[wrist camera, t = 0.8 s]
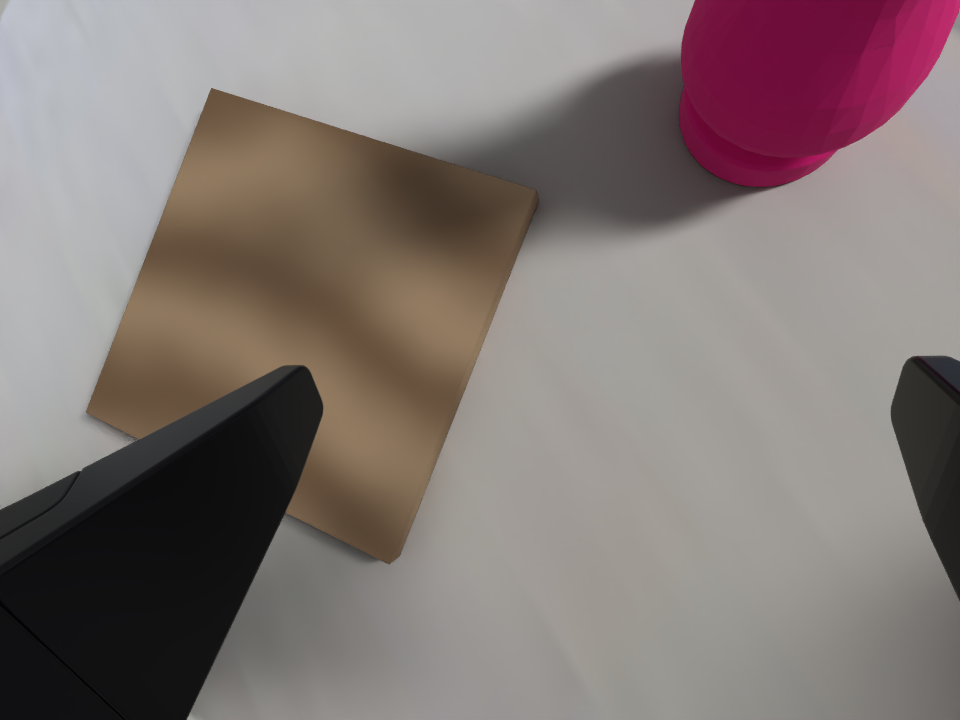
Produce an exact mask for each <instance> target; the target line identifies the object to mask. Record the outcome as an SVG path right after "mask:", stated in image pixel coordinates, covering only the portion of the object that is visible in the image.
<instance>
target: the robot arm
mask: <svg viewBox="0 0 960 720" xmlns="http://www.w3.org/2000/svg"><path fill="white" fill-rule="evenodd" d="M322 416H323V401H322V399H321V396H320V394H319V391H318V389H317V386H316V384H315V381H314V379H313V376H312V374H311V372H310V370H309V369H308V368H307V367H306V366H304V365H285V366H281V367H279V368H277V369H275V370H273V371H271V372H269V373H267V374H265V375H264V376H262V377H260V378H258V379H256V380H254V381H252V382H250V383H248V384H246V385H244V386H242V387H240V388H238V389H236V390H234V391H232V392H230V393H229V394H227V395H225V396H223V397H221V398H219V399H217V400H215V401H213V402H211V403H209V404H207V405H205V406H203V407H201V408H199V409H197V410H196V411H194V412H192V413H190V414H188V415H186V416H184V417H182V418H180V419H178V420H176V421H174V422H172V423H170V424H168V425H166V426H164V427H162V428H161V429H159V430H157V431H155V432H153V433H151V434H149V435H147V436H145V437H143V438H141V439H139V440H137V441H135V442H133V443H131V444H129V445H127V446H126V447H124V448H122V449H120V450H118V451H116V452H114V453H112V454H110V455H108V456H106V457H104V458H102V459H100V460H98V461H96V462H94V463H93V464H91V465H89V466H87V467H85V468H83V469H82V471H77V472H75V473H73V474H71V475H69V476H67V477H65V478H63V479H61V480H59V481H57V482H55V483H53V484H51V485H49V486H47V487H45V488H43V489H41V490H39V491H37V492H35V493H33V494H31V495H29V496H27V497H25V498H23V499H22V500H20V501H18V502H16V503H13V504H11V505H9V506H7V507H5V508H3V509H1V510H0V720H187V718H188V716H189V714H190V712H191V709H192V707H193V705H194V703H195V701H196V699H197V697H198V695H199V693H200V691H201V688H202V686H203V684H204V682H205V680H206V678H207V676H208V674H209V672H210V670H211V667H212V665H213V663H214V661H215V659H216V657H217V655H218V653H219V651H220V649H221V646H222V644H223V642H224V640H225V638H226V636H227V634H228V632H229V630H230V628H231V625H232V623H233V621H234V619H235V617H236V615H237V613H238V611H239V609H240V607H241V605H242V602H243V600H244V598H245V596H246V594H247V592H248V590H249V588H250V586H251V584H252V581H253V579H254V577H255V575H256V573H257V571H258V569H259V567H260V565H261V563H262V560H263V558H264V556H265V554H266V552H267V550H268V548H269V546H270V544H271V542H272V539H273V537H274V535H275V533H276V531H277V529H278V527H279V525H280V523H281V521H282V518H283V516H284V514H285V512H286V510H287V508H288V506H289V504H290V502H291V500H292V497H293V495H294V493H295V491H296V488H297V486H298V483H299V481H300V478H301V475H302V473H303V470H304V467H305V464H306V461H307V458H308V456H309V453H310V450H311V447H312V444H313V442H314V439H315V436H316V433H317V430H318V427H319V425H320V422H321V419H322ZM891 421H892V425H893V428H894V431H895V434H896V438H897V441H898V444H899V447H900V450H901V454H902V457H903V460H904V463H905V466H906V470H907V473H908V476H909V479H910V482H911V486H912V489H913V492H914V495H915V498H916V502H917V505H918V508H919V510H920V513H921V516H922V519H923V522H924V524H925V527H926V529H927V531H928V534H929V536H930V538H931V540H932V543H933V545H934V547H935V549H936V551H937V553H938V555H939V558H940V560H941V562H942V564H943V566H944V568H945V571H946V573H947V575H948V577H949V579H950V581H951V583H952V586H953V588H954V590H955V592H956V594H957V596H958V599H959V601H960V361H958V360H955V359H953V358H951V357H948V356H913V357H911V358H909V359H908V360H907V361H906V362H905V364H904V366H903V368H902V372H901V375H900V378H899V382H898V385H897V388H896V392H895V395H894V398H893V402H892V405H891Z"/></svg>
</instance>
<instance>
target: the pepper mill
mask: <svg viewBox="0 0 960 720" xmlns="http://www.w3.org/2000/svg"><path fill="white" fill-rule="evenodd" d="M959 9H960V0H695V2H694V5H693V7H692V10H691V13H690V15H689V18H688V21H687V23H686V26H685V30H684V35H683V40H682V49H681V64H682V78H683V81H684V84H685V85H684V89H683V93H682V96H681V101H680V108H679V122H680V128H681V132H682V135H683V138H684V141H685V144H686V146H687V147H688V149H689V151H690V152H691V154H692V155H693V157H694V158H695V159H696V160H697V161H698V162H699V163H700V164H701V165H702V166H703V167H704V168H705V169H707V170H708V171H709V172H711V173H712V174H714V175H716V176H717V177H719V178H722V179H724V180H726V181H728V182H732V183H735V184H739V185H744V186H755V187H767V186H776V185H781V184H785V183H788V182H791V181H795V180H797V179H800V178H802V177H804V176H806V175H808V174H810V173H811V172H813V171H815V170H816V169H818V168H819V167H820V166H821V165H823V164H824V163H825V162H826V161H827V160H828V159H829V158H830V157H831V156H832V155H833V154H834V153H835V152H836V151H837V150H838V149H840V148H843V147H846V146H848V145H850V144H852V143H854V142H856V141H858V140H860V139H862V138H864V137H865V136H867V135H868V134H870V133H871V132H873V131H874V130H876V129H877V128H879V127H880V126H882V125H883V124H885V123H886V122H887V121H888V120H889V119H890V118H891V117H892V116H894V115H895V114H896V113H897V112H898V111H899V110H900V109H901V108H902V107H903V105H904V104H905V103H906V102H907V100H908V99H909V98H910V97H911V96H912V94H913V93H914V92H915V91H916V90H917V88H918V87H919V86H920V85H921V84H922V82H923V81H924V80H925V79H926V78H927V76H928V75H929V73H930V71H931V70H932V68H933V66H934V65H935V63H936V61H937V60H938V58H939V57H940V54H941V52H942V50H943V47H944V45H945V43H946V41H947V38H948V36H949V34H950V31H951V29H952V27H953V24H954V22H955V20H956V18H957V15H958V13H959Z"/></svg>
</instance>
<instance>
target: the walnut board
mask: <svg viewBox="0 0 960 720" xmlns="http://www.w3.org/2000/svg"><path fill="white" fill-rule="evenodd" d="M538 202H539V199H538V195H537V192H536V190H534V189H531V188H528V187H525V186H522V185H518V184H515V183H512V182H509V181H506V180H503V179H499V178H496V177H493V176H490V175H487V174H483V173H480V172H477V171H474V170H471V169H468V168H464V167H461V166H458V165H455V164H452V163H448V162H445V161H442V160H439V159H436V158H432V157H429V156H426V155H423V154H420V153H417V152H413V151H410V150H407V149H404V148H401V147H397V146H394V145H391V144H388V143H385V142H382V141H378V140H375V139H372V138H369V137H366V136H362V135H359V134H356V133H353V132H350V131H347V130H343V129H340V128H337V127H334V126H331V125H327V124H324V123H321V122H318V121H315V120H312V119H308V118H305V117H302V116H299V115H296V114H292V113H289V112H286V111H283V110H280V109H276V108H273V107H270V106H267V105H264V104H261V103H257V102H254V101H251V100H248V99H245V98H241V97H238V96H235V95H232V94H229V93H226V92H222V91H219V90H216V89H213V88H211V90H210V93H209V95H208V98H207V101H206V103H205V106H204V108H203V111H202V114H201V116H200V119H199V121H198V124H197V126H196V129H195V132H194V134H193V137H192V139H191V142H190V144H189V147H188V150H187V152H186V155H185V157H184V160H183V163H182V165H181V168H180V170H179V173H178V175H177V178H176V181H175V183H174V186H173V188H172V191H171V194H170V196H169V199H168V201H167V204H166V206H165V209H164V212H163V214H162V217H161V219H160V222H159V225H158V227H157V230H156V232H155V235H154V237H153V240H152V243H151V245H150V248H149V250H148V253H147V256H146V258H145V261H144V263H143V266H142V268H141V271H140V274H139V276H138V279H137V281H136V284H135V287H134V289H133V292H132V294H131V297H130V299H129V302H128V305H127V307H126V310H125V312H124V315H123V318H122V320H121V323H120V325H119V328H118V330H117V333H116V336H115V338H114V341H113V343H112V346H111V348H110V351H109V354H108V356H107V359H106V361H105V364H104V367H103V369H102V372H101V374H100V377H99V379H98V382H97V385H96V387H95V390H94V392H93V395H92V398H91V400H90V403H89V405H88V408H87V410H86V413H87V414H89V415H91V416H93V417H95V418H97V419H99V420H101V421H103V422H105V423H107V424H109V425H111V426H113V427H115V428H117V429H119V430H121V431H123V432H125V433H127V434H129V435H131V436H133V437H135V438H137V439H141V438H143V437H145V436H147V435H149V434H151V433H153V432H155V431H157V430H159V429H161V428H162V427H164V426H166V425H168V424H170V423H172V422H174V421H176V420H178V419H180V418H182V417H184V416H186V415H188V414H190V413H192V412H194V411H196V410H197V409H199V408H201V407H203V406H205V405H207V404H209V403H211V402H213V401H215V400H217V399H219V398H221V397H223V396H225V395H227V394H229V393H230V392H232V391H234V390H236V389H238V388H240V387H242V386H244V385H246V384H248V383H250V382H252V381H254V380H256V379H258V378H260V377H262V376H264V375H265V374H267V373H269V372H271V371H273V370H275V369H277V368H279V367H281V366H285V365H304V366H306V367H307V368H308V369H309V370H310V372H311V374H312V376H313V379H314V381H315V384H316V386H317V389H318V391H319V394H320V396H321V399H322V401H323V416H322V419H321V422H320V425H319V427H318V430H317V433H316V436H315V439H314V442H313V444H312V447H311V450H310V453H309V456H308V458H307V461H306V464H305V467H304V470H303V473H302V475H301V478H300V481H299V483H298V486H297V488H296V491H295V493H294V495H293V497H292V500H291V502H290V504H289V506H288V508H287V510H286V512H285V513H287V514H289V515H291V516H293V517H295V518H297V519H299V520H301V521H303V522H305V523H307V524H309V525H311V526H313V527H315V528H317V529H319V530H321V531H323V532H325V533H327V534H329V535H331V536H333V537H335V538H337V539H339V540H341V541H343V542H345V543H347V544H349V545H351V546H353V547H355V548H357V549H359V550H361V551H363V552H365V553H367V554H369V555H371V556H373V557H375V558H377V559H379V560H381V561H383V562H385V563H387V564H390V563H392V562H393V561H394V560H395V559H397V558H398V557H399V556H400V554H401V551H402V549H403V546H404V544H405V541H406V539H407V536H408V533H409V531H410V528H411V526H412V523H413V521H414V518H415V516H416V513H417V510H418V508H419V505H420V503H421V500H422V498H423V495H424V493H425V490H426V488H427V485H428V482H429V480H430V477H431V475H432V472H433V470H434V467H435V465H436V462H437V459H438V457H439V454H440V452H441V449H442V447H443V444H444V442H445V439H446V437H447V434H448V431H449V429H450V426H451V424H452V421H453V419H454V416H455V414H456V411H457V408H458V406H459V403H460V401H461V398H462V396H463V393H464V391H465V388H466V386H467V383H468V380H469V378H470V375H471V373H472V370H473V368H474V365H475V363H476V360H477V357H478V355H479V352H480V350H481V347H482V345H483V342H484V340H485V337H486V335H487V332H488V329H489V327H490V324H491V322H492V319H493V317H494V314H495V312H496V309H497V306H498V304H499V301H500V299H501V296H502V294H503V291H504V289H505V286H506V284H507V281H508V278H509V276H510V273H511V271H512V268H513V266H514V263H515V261H516V258H517V255H518V253H519V250H520V248H521V245H522V243H523V240H524V238H525V235H526V233H527V230H528V227H529V225H530V222H531V220H532V217H533V215H534V212H535V210H536V207H537V204H538Z"/></svg>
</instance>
